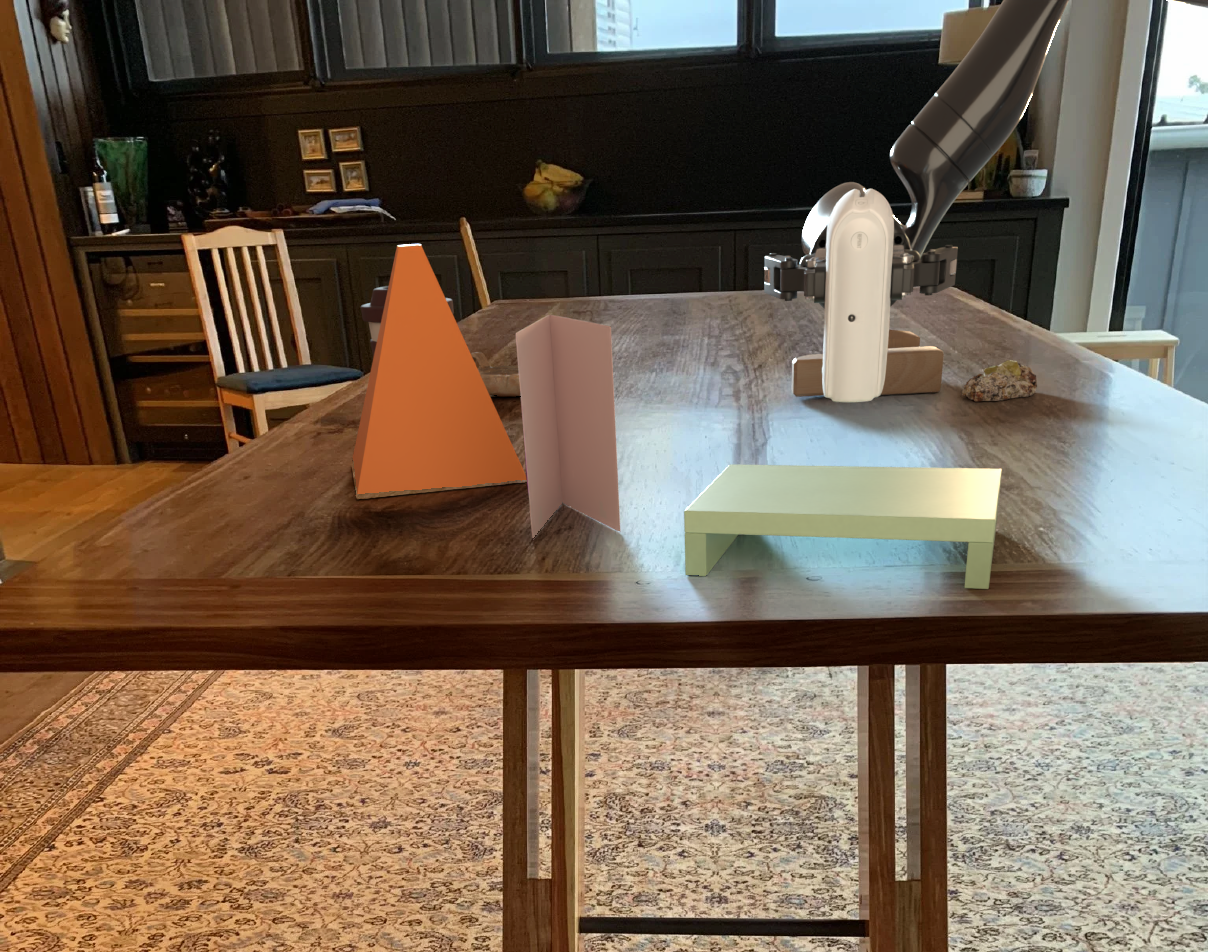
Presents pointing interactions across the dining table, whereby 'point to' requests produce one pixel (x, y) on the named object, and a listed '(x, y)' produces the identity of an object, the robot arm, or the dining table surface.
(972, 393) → the mineral rock
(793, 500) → the shelf
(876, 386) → the photo printer
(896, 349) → the wooden block set
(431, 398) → the pyramid
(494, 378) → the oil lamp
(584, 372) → the greeting card
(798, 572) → the dining table surface
